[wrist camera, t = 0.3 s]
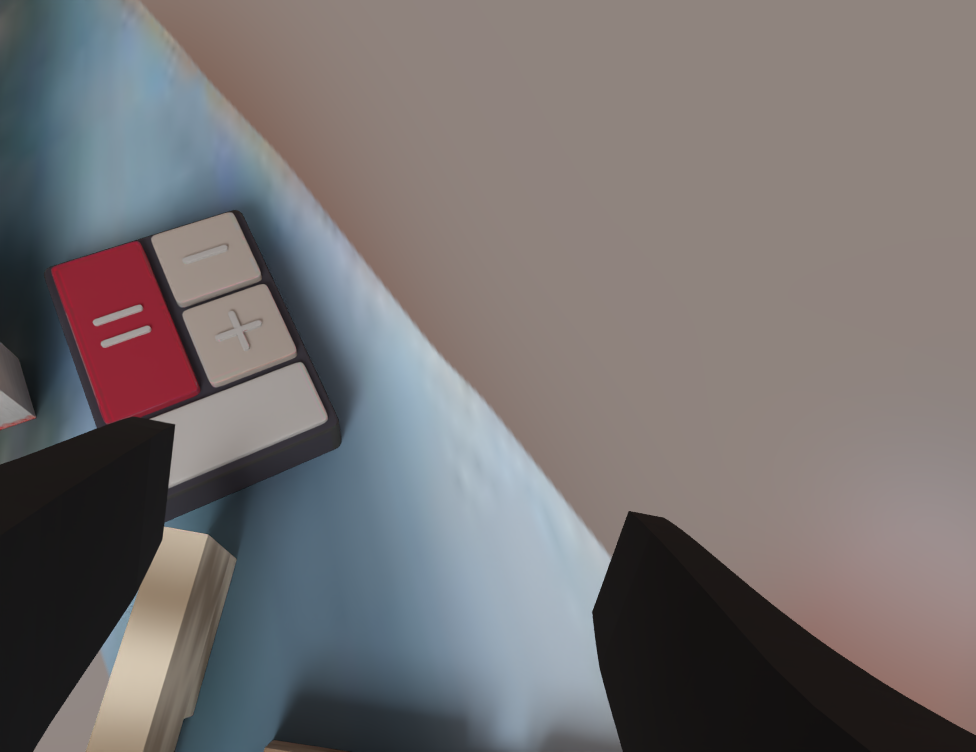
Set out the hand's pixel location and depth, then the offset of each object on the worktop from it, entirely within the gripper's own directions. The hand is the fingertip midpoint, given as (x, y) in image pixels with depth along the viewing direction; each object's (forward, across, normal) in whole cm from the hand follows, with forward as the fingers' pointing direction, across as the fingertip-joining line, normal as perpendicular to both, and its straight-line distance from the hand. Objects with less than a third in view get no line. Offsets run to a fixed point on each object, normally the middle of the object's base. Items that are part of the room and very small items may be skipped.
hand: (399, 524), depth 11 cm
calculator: (+30, +11, +11) cm, 34 cm away
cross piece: (+17, +7, +25) cm, 31 cm away
